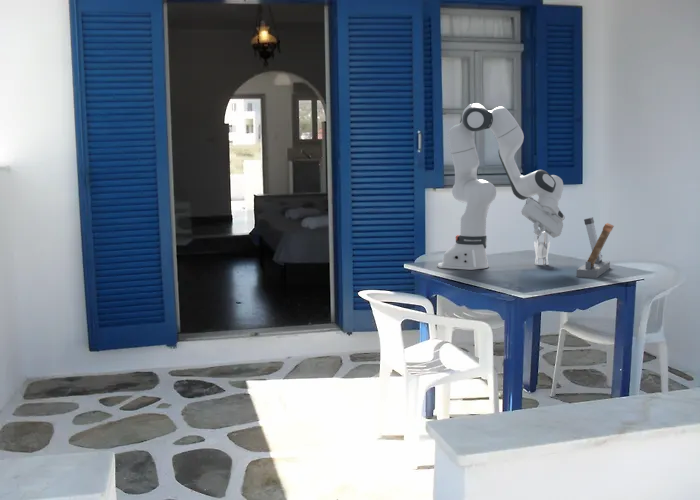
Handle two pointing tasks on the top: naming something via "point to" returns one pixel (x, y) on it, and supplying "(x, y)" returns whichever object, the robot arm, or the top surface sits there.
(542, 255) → the beer glass
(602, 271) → the plinth
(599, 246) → the walnut lever
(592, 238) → the metal lever
